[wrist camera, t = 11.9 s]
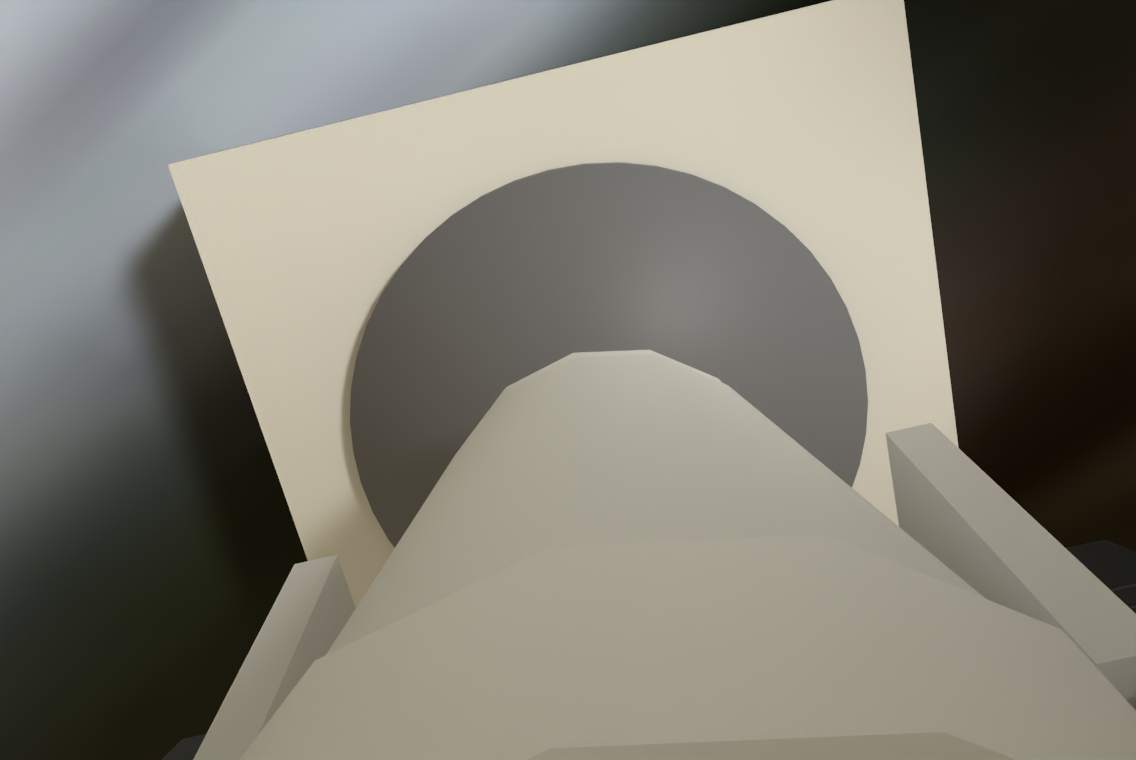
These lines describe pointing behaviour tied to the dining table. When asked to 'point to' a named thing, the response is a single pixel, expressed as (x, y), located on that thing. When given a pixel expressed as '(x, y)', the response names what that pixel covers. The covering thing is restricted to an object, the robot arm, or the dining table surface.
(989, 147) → the dining table surface
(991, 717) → the foam cup
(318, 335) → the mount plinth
